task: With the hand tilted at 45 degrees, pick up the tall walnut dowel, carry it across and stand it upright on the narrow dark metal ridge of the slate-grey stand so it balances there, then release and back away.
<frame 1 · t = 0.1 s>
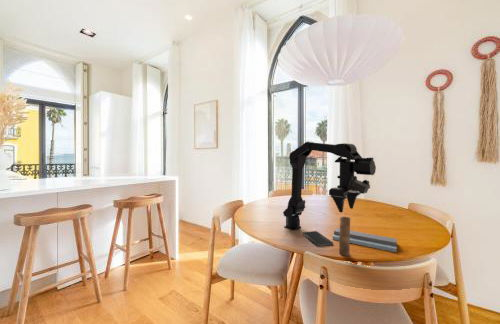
hand: (346, 210, 94), 15 cm above the table, tool pointing down, fingers open, 9 cm apart
walnut dowel: (344, 253, 86), on the table
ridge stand: (363, 241, 98), on the table
phone: (317, 240, 101), on the table
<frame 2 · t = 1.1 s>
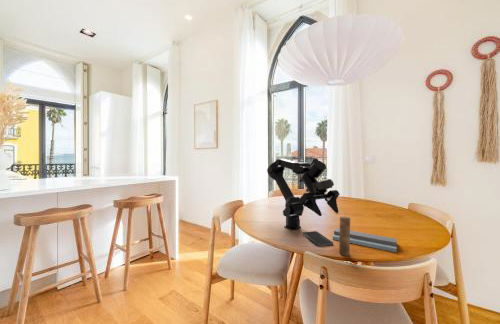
hand: (329, 214, 93), 13 cm above the table, tool tilted 45°, fingers open, 9 cm apart
nothing on the table moved.
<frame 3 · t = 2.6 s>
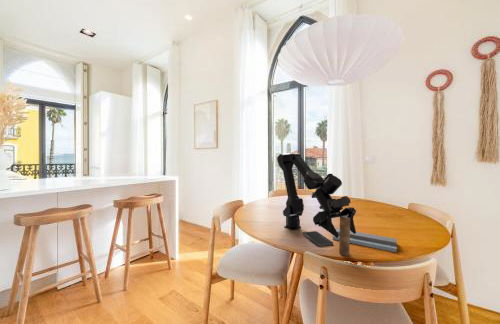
hand: (346, 235, 85), 8 cm above the table, tool tilted 45°, fingers open, 9 cm apart
nothing on the table moved.
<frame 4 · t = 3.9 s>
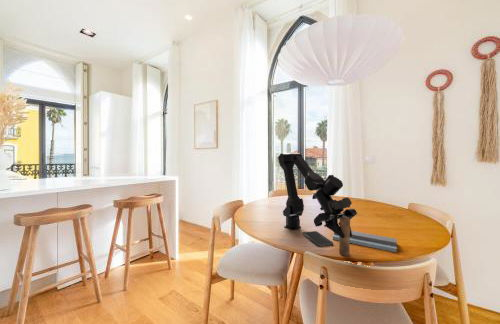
hand: (347, 236, 85), 7 cm above the table, tool tilted 45°, fingers closed on walnut dowel, 4 cm apart
walnut dowel: (344, 253, 86), on the table, touching gripper
everything else where it was.
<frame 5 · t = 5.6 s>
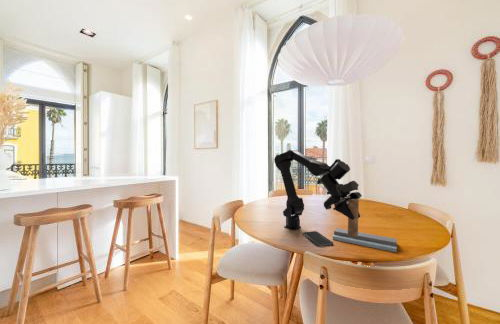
hand: (356, 218, 87), 13 cm above the table, tool tilted 45°, fingers closed on walnut dowel, 4 cm apart
walnut dowel: (352, 235, 88), point 6 cm above the table, touching gripper
everything else where it was.
when the fingers open (11 cm above the table, at t = 7.7 s): walnut dowel stays where it is, resting on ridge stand.
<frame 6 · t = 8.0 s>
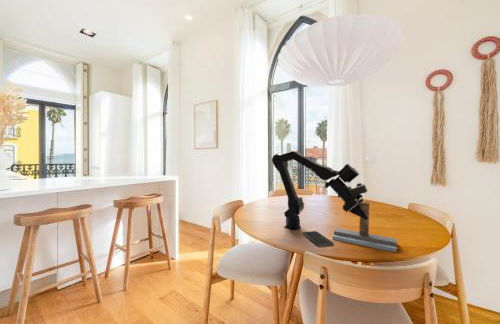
hand: (367, 217, 97), 11 cm above the table, tool tilted 45°, fingers open, 6 cm apart
walnut dowel: (363, 234, 98), point 3 cm above the table, touching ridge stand
everything else where it was.
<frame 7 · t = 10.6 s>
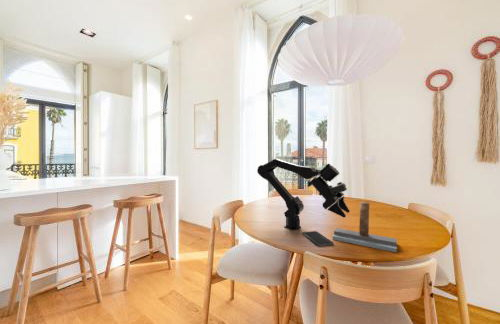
hand: (347, 214, 101), 11 cm above the table, tool tilted 45°, fingers open, 9 cm apart
nothing on the table moved.
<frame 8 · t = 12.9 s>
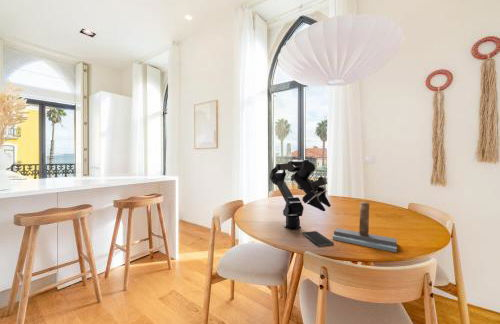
hand: (327, 208, 101), 14 cm above the table, tool tilted 45°, fingers open, 9 cm apart
nothing on the table moved.
at the end: walnut dowel 0.0 cm off-centre on the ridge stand, point 3.0 cm above the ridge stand's base; walnut dowel tilted 0°; the gripper is holding nothing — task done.
